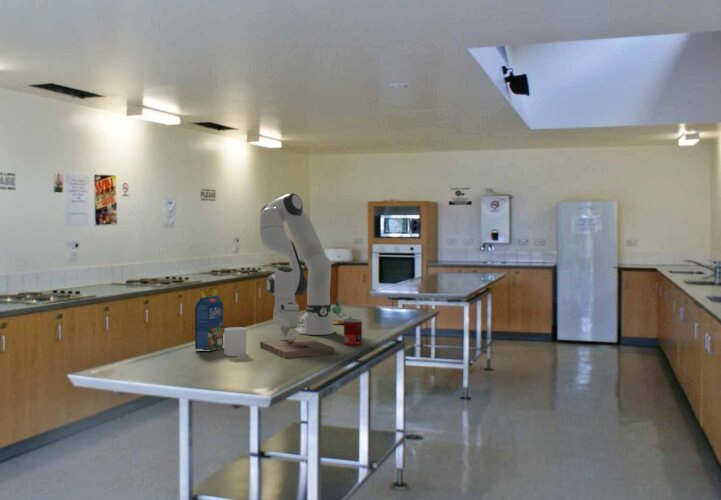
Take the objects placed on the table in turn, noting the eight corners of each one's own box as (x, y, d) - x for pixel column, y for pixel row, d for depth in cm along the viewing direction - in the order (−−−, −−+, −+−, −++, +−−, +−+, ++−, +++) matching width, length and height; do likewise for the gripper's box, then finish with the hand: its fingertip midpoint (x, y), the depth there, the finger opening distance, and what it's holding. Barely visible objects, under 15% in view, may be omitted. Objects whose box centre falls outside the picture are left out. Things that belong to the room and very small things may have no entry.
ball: (285, 342, 298) (285, 332, 298) (293, 341, 300) (293, 332, 300) (288, 343, 295) (288, 334, 295) (297, 342, 297) (297, 333, 297)
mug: (253, 352, 287) (253, 326, 286) (239, 357, 275) (239, 330, 275) (235, 351, 290) (235, 325, 289) (220, 356, 278) (220, 329, 278)
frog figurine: (352, 325, 368) (349, 298, 368) (320, 328, 373) (317, 300, 372) (357, 323, 377) (354, 296, 377) (326, 325, 382) (323, 298, 382)
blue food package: (194, 351, 289) (194, 291, 288) (210, 346, 300) (210, 288, 299) (207, 352, 287) (207, 291, 286) (223, 347, 298) (223, 289, 297)
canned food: (359, 346, 303) (360, 321, 303) (342, 345, 305) (342, 320, 305) (363, 343, 311) (363, 318, 310) (345, 342, 312) (346, 318, 312)
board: (260, 347, 300) (260, 341, 299) (307, 343, 310) (307, 338, 310) (284, 358, 275) (284, 351, 275) (334, 353, 285) (334, 347, 285)
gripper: (269, 302, 311) (269, 333, 311) (286, 307, 293) (286, 340, 293) (283, 302, 314) (282, 332, 314) (300, 306, 296) (300, 339, 296)
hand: (284, 336), depth 303 cm, fingers closed
